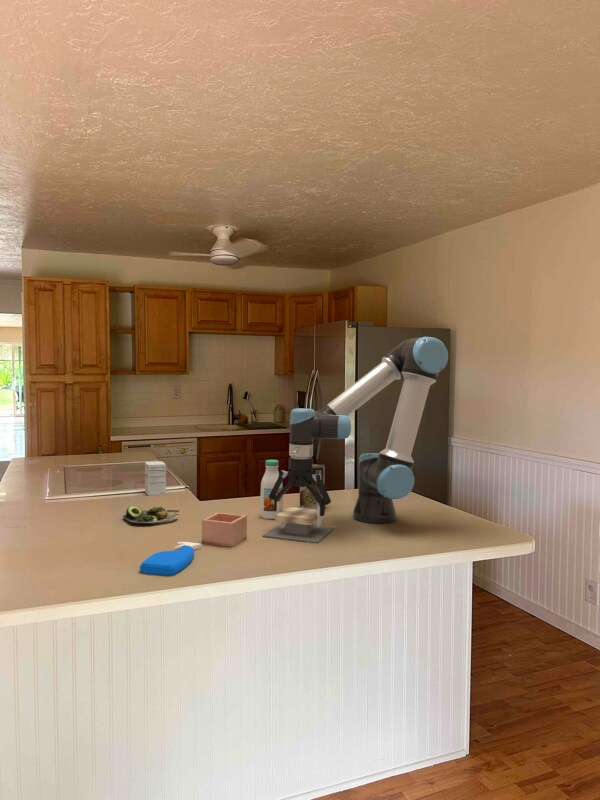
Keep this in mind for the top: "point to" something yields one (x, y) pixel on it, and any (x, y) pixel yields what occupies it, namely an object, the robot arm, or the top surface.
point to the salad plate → (149, 516)
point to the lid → (297, 516)
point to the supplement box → (155, 478)
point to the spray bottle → (170, 560)
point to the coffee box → (305, 495)
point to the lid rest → (299, 532)
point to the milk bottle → (269, 489)
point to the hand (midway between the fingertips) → (298, 523)
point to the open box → (224, 529)
